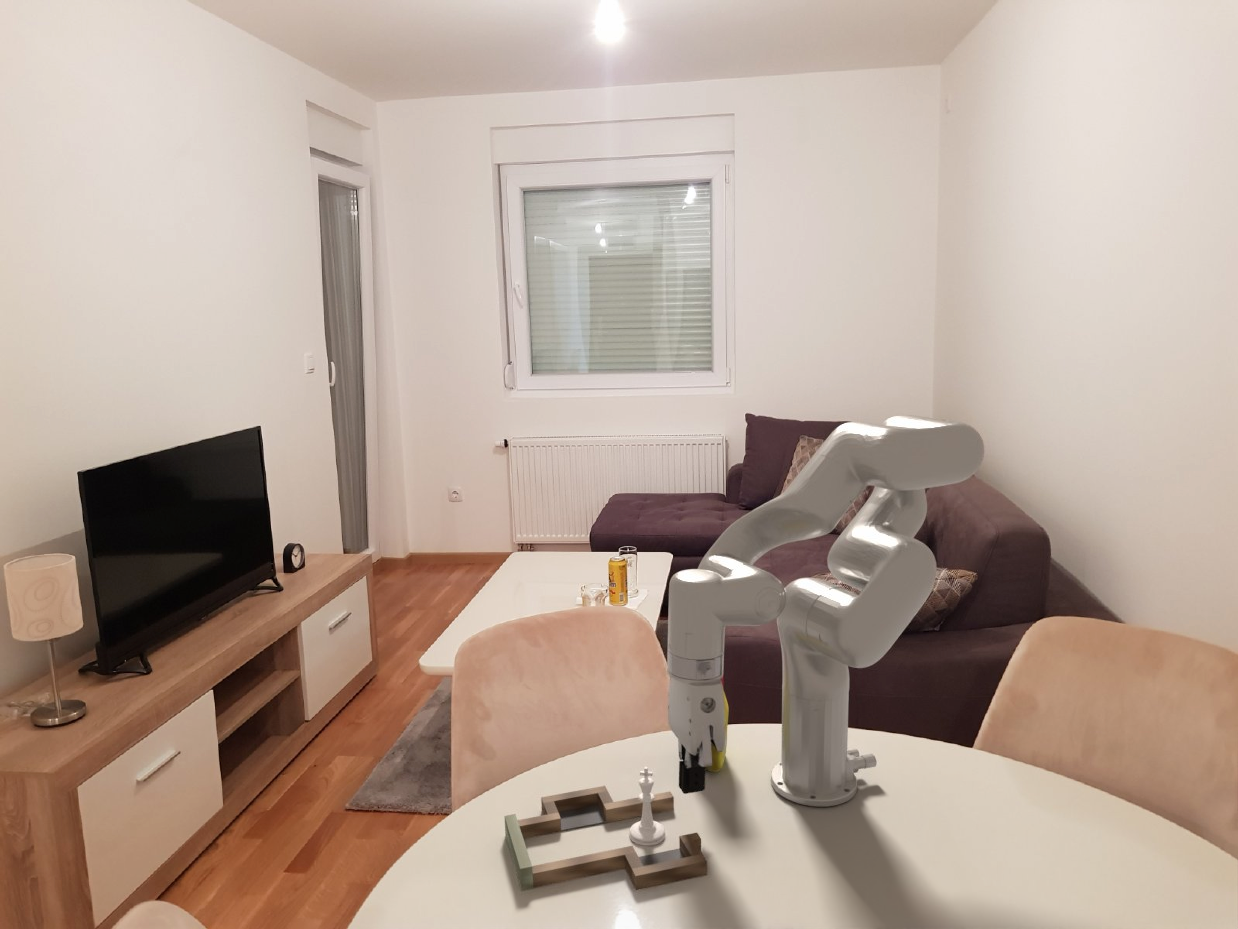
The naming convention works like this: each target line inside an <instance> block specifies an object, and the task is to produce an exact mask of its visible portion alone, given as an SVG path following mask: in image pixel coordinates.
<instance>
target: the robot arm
mask: <svg viewBox="0 0 1238 929" xmlns="http://www.w3.org/2000/svg"><path fill="white" fill-rule="evenodd" d="M984 455H985V445H984V441H983V437H982V436H981V434H980V433H979V431H977V430H976V429H975V428H974V427H973V426H971V425H970V424H967V423H964V422H961V421H955V420H954V421H953V420H947V419H940V418H932V417H926V416H925V417H924V416H919V415H910V414H909V415H905V414H903V415H902V414H901V415H899V414H898V415H895V416H892V417H889V418H887V419H886V420H884V421H883V422H882V423H881V424H877V423H870V422H862V421H860V422H859V421H849V422H845V423H843V424H840V425H839V426H837V427H836V428H834V430H832V431H831V433H830V434H829V435H828V437H827V438H826V439H825V440H824V441H823V442H822V443H821V445H820V446H819V448H818V449H817V450H816V451H815V453H814V454H813V455H812V457H811V458H810V459H809V460H808V462H807V463H806V464H805V465H804V466H803V467H802V469H801V470H800V471H799V473H797V476H796V477H794V479H793V480H792V481H791V483H790V484H788V487H786V488H785V490H784V491H783V492H782V493H781V494H780V495H778V496H776V497H775V498H773V499H770V500H768V501H767V502H765V503H763V504H761V505H760V506H758V507H756V508H754V509H752V510H751V511H750V512H748V513H746V514H744V515H742V516H741V517H740V518H738V519H737V520H735V521H734V522H732V523H731V524H730V525H729V526H728V527H727V528H726V529H725V530H724V531H723V532H722V533H721V535H720V536H719V537H718V538H717V539H716V540H715V542H713V544H712V546H711V547H710V548H709V549H708V551H707V552H706V553H705V554H704V556H703V557H702V559H701V561H700V563H699V565H698V567H697V568H690V569H683V570H680V571H678V572H676V573H674V574H673V575H672V576H671V578H670V580H669V583H668V584H669V585H668V586H669V587H668V611H667V612H668V614H667V615H668V616H667V617H668V618H667V622H668V623H667V656H666V657H667V658H666V659H667V663H666V664H667V665H666V666H667V667H666V674H667V675H668V676H669V684H668V694H667V695H668V696H667V698H668V699H667V720H668V725H669V726H668V727H669V728H670V730H671V731H672V733H673V734H674V736H675V737H676V738H677V741H678V743H677V744H678V745H677V746H678V758H679V761H678V762H679V763H678V764H679V765H678V787H679V789H680V790H681V792H682V794H684V795H687V794H693V793H699V792H704V790H705V789H706V786H705V785H706V769H705V767H706V766H712V754H711V744H712V745H713V746H714V747H715V749H716V750H717V751H719V752H723V750H724V748H725V713H724V697H723V690H724V687H723V688H722V681H721V680H720V679H721V678H722V677H723V678H724V667H725V666H724V664H725V663H724V661H725V658H724V657H725V638H726V637H725V634H726V627H728V626H732V627H737V626H738V627H740V626H741V627H757V626H763V625H767V624H769V623H771V622H773V621H775V620H776V624H777V630H778V636H779V642H780V647H781V658H782V659H781V660H782V683H781V684H782V685H781V690H782V692H781V695H782V697H781V761H779V762H778V763H777V764H775V765H774V767H772V769H771V771H770V772H771V773H770V784H771V786H772V788H773V789H774V791H775V792H776V793H778V794H779V796H781V797H782V798H784V799H787V800H788V801H790V802H793V803H796V804H800V805H803V806H808V807H818V808H819V807H820V808H821V807H824V808H826V807H834V806H839V805H841V804H844V803H847V802H848V801H850V800H852V798H853V797H854V796H855V795H856V794H857V790H858V779H857V777H856V774H855V773H858V772H859V771H860V770H861V769H862V770H863V769H865V770H866V769H870V768H871V769H872V768H875V767H877V763H878V762H877V759H876V756H875V755H874V753H868V754H862V755H860V753H859V750H858V749H857V748H855V749H854V748H853V749H849V750H848V739H849V738H848V737H849V736H848V735H849V734H848V733H849V731H848V730H849V693H850V692H849V691H850V671H849V670H850V669H849V667H851V668H857V669H863V668H868V667H870V666H873V665H874V664H876V663H877V662H879V661H880V660H881V659H882V658H883V657H884V656H885V655H887V653H888V651H889V650H890V649H891V648H892V646H894V644H895V642H897V640H898V638H899V637H900V636H902V633H903V632H904V631H905V629H906V628H907V627H908V626H909V624H910V623H911V622H912V620H913V619H914V617H916V615H917V613H918V612H919V611H920V609H921V608H922V607H923V606H924V604H925V603H926V601H927V599H928V598H929V596H931V595H930V594H931V593H932V591H933V587H934V585H935V581H936V576H937V570H938V569H937V561H936V557H935V554H934V553H933V552H932V550H931V549H930V548H929V546H928V545H926V544H925V543H924V542H922V541H920V540H918V539H916V538H915V536H916V535H917V533H918V532H919V530H920V529H921V528H922V526H923V524H924V521H925V520H926V517H927V513H928V502H927V495H926V489H930V488H935V487H942V486H947V485H948V486H949V485H955V484H958V483H961V482H963V481H966V480H968V479H970V478H971V477H972V476H973V475H975V473H976V472H977V471H978V470H979V468H980V467H981V465H982V462H983V461H984V458H985V456H984ZM868 486H872V487H874V488H873V491H872V492H871V494H870V496H869V497H868V499H867V500H866V502H865V503H864V504H863V505H862V507H861V508H860V509H859V511H858V512H857V513H856V515H855V516H854V517H853V518H852V520H851V521H850V522H849V523H848V525H847V526H846V527H845V528H844V529H843V531H842V532H841V533H840V535H839V536H838V537H837V539H836V540H835V541H834V542H833V544H832V546H831V547H830V549H829V552H828V555H827V561H826V562H827V568H828V570H829V572H830V573H831V575H832V576H834V578H835V579H837V580H838V581H839V582H841V583H843V584H845V585H846V586H849V587H850V588H853V589H855V590H857V591H860V593H859V594H858V593H856V592H854V591H851V590H849V589H847V588H844V587H843V586H839V585H836V584H835V583H831V582H829V581H827V580H824V579H820V578H816V577H800V578H797V579H795V580H793V581H791V582H789V583H788V584H787V585H785V587H784V584H783V582H782V581H781V580H780V579H779V578H777V577H776V576H775V575H774V574H772V573H771V572H769V571H766V570H764V569H762V568H760V567H757V566H755V565H754V563H755V562H757V561H758V560H759V559H760V558H761V557H762V556H764V555H765V554H766V553H767V552H769V551H771V550H773V549H774V548H778V547H779V546H782V545H785V544H788V543H794V542H797V541H798V542H799V541H804V540H809V539H810V540H811V539H814V538H818V537H822V536H825V535H827V534H830V533H831V532H832V531H833V530H834V529H835V528H836V527H837V525H838V524H839V522H840V521H841V519H842V518H844V517H845V514H846V513H847V512H848V510H850V508H851V507H852V505H853V504H854V503H855V501H857V499H859V497H860V496H861V494H862V493H863V492H864V491H865V489H866V488H867V487H868Z"/></svg>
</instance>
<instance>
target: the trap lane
mask: <svg viewBox="0 0 1238 929" xmlns="http://www.w3.org/2000/svg"><path fill="white" fill-rule="evenodd" d="M653 795H654V800H653V801H652V802H650V804H651V811H652V815H653V814H654V815H655V814H659V813H664V812H669V811H674V810H675V801H674V800H675V797H674V795H673V794H672V792H671V791H666V792H661V793H654V794H653ZM540 801H541V812H542V815H538V816H533V817H526V818H522V819H518V818H517V815H516V814H515V813H513V814H507V815H504V828H505V829H504V832H505V839H506V842H507V845H508V849H509V853H510V857H511V860H512V862H513V866H514V867H513V868H514V870H515V873H516V876H517V879H518V880H517V881H518V883H519V886H520V891H526V890H531V889H536V888H540V887H545V886H550V885H554V884H559V883H564V882H569V881H573V880H578V879H582V878H588V877H592V876H596V875H601V874H605V873H606V874H607V873H610V872H611V873H612V872H616V871H620V870H625V871H626V873H627V876H628V878H629V879H630V882H631V883H632V884H631V885H632V886H633V888H634V889H635V891H640V890H645V889H648V888H654V887H659V886H662V885H668V884H672V883H676V882H680V881H681V882H682V881H685V880H691V879H695V878H700V877H705V876H707V875H708V860H707V858H706V857H705V855H704V854H703V852H702V838H701V836H700V835H699V833H698V832H693V833H688V834H683V835H679V837H678V840H679V841H678V842H679V843H678V844H679V847H678V848H675V849H670V850H665V851H659V852H655V853H650V854H647V855H640V856H639V855H638V854H637V851H636V850H635V848H634V846H633V845H630V846H629V845H628V846H624V847H619V848H614V849H609V850H604V851H599V852H595V853H591V854H586V855H585V854H584V855H580V856H575V857H570V858H565V859H561V860H556V861H550V862H545V863H542V864H541V863H540V864H536V865H535V864H534V865H532V861H531V859H530V855H529V851H528V848H527V845H526V842H525V840H526V839H529V838H535V837H540V836H546V835H551V834H555V833H562V832H565V831H571V830H576V829H581V828H582V829H583V828H587V827H592V826H597V825H602V824H608V823H612V822H619V821H623V820H627V819H631V818H633V819H634V818H638V817H642V809H643V802H641V801H640V800H639V796H638V797H633V798H628V799H623V800H622V799H621V800H618V801H617V800H616V801H614V800H613V798H612V796H611V795H610V792H609V791H608V789H607V787H606V785H602V786H597V787H592V788H585V789H579V790H575V791H573V790H572V791H569V792H564V793H558V794H552V795H547V796H542V797H541V798H540ZM524 839H525V840H524Z"/></svg>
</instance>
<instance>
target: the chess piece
mask: <svg viewBox="0 0 1238 929" xmlns="http://www.w3.org/2000/svg"><path fill="white" fill-rule="evenodd" d="M639 776H644V777H641V778H639V780H638V785H639V786H640V789H641V793H639V795H638V797H639V800H640V801H641V802H643V809H642V816H641V819H640V821H636V822H635V823H633V824H631V827H630V829H629V834H628V836H629V839H630V840H631V841H632V843H633V842H634V844H637V845H639V846H643V847H644V846H646V847H647V846H648V847H649V846H655V845H658V844H660V843H661V842H663V841H664V840H665V838H666V832H665V827H664V826H663V824H661V823H660V822H658V821H655V820H654V819H653V818H654V817H653V814H652V811H651V804H650V802H652V801H653V800H654V794H653V793H652V790H653V789H652V788H653V787H654V783H655V781H654V779H653V778H652V777H653V771H649V767H648V766H644V768H643V770H639Z"/></svg>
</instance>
